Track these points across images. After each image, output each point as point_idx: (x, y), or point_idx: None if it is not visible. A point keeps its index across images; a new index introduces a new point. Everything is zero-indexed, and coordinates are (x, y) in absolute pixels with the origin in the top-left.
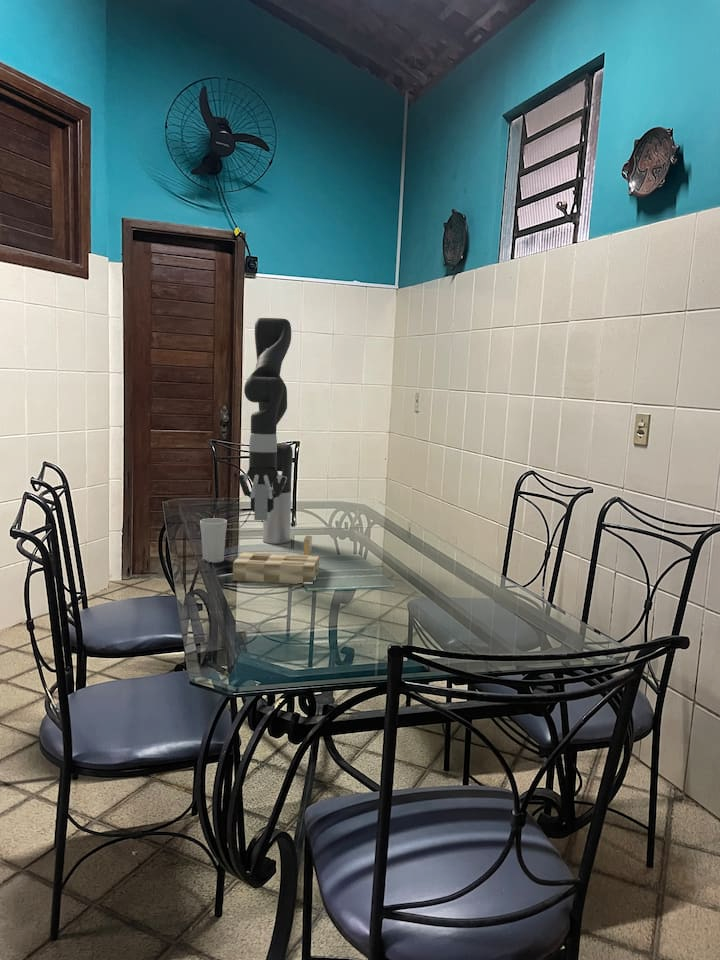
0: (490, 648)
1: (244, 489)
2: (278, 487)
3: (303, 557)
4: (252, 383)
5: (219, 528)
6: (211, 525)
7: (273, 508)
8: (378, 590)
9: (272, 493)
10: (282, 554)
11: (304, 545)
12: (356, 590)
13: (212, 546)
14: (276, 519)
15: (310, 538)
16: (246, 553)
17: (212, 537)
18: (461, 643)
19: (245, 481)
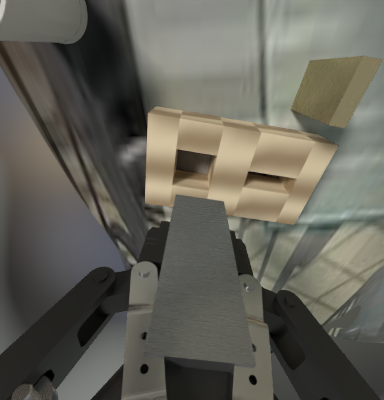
0: (373, 337)
1: (84, 332)
2: (293, 380)
3: (294, 163)
4: None
5: (15, 29)
6: None
7: (243, 243)
8: (373, 228)
9: (252, 304)
10: (248, 137)
11: (320, 121)
12: (339, 228)
13: (40, 41)
14: None
15: (358, 102)
16: (159, 130)
17: (18, 40)
18: (357, 332)
19: (53, 388)
